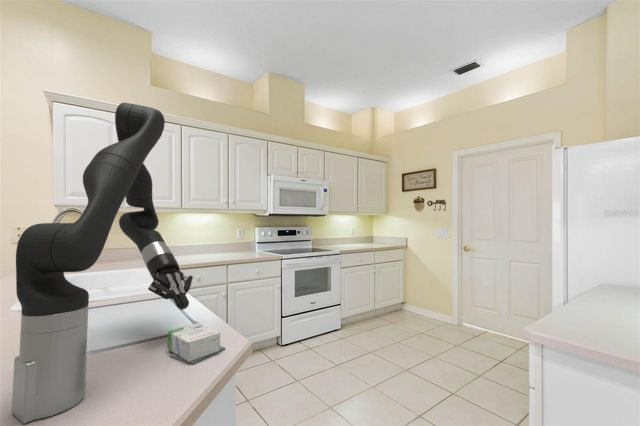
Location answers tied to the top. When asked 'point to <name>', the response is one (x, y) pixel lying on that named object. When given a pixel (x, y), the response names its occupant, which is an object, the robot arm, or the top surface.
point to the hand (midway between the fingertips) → (185, 307)
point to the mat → (195, 359)
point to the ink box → (193, 341)
